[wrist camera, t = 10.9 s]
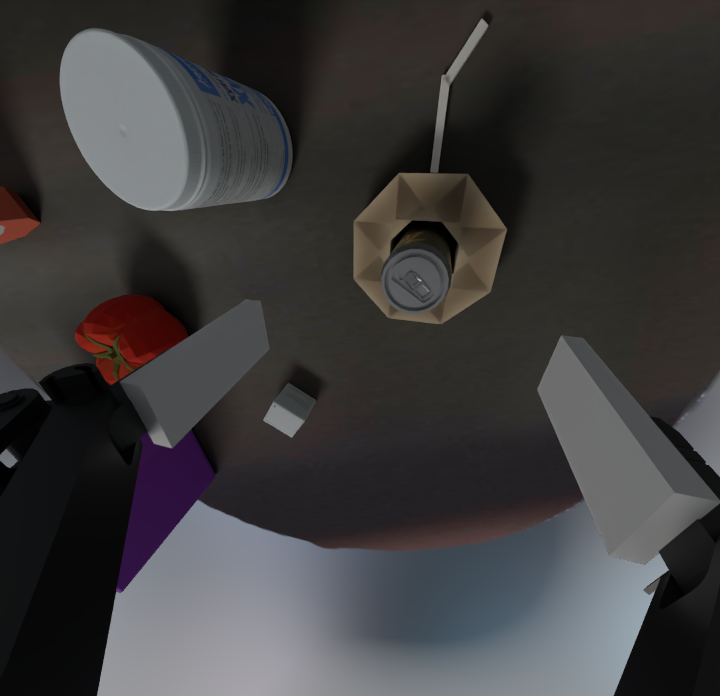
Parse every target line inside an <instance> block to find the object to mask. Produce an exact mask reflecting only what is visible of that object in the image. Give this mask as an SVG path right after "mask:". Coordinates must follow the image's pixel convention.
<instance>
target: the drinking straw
mask: <svg viewBox="0 0 720 696" xmlns="http://www.w3.org/2000/svg"><path fill="white" fill-rule="evenodd" d="M488 26H489V25H488V24H487V23H486V22H485V21H484V20H483V19H481V20H480V22H479V23H478V25H477V27H476V28H475V30H474V31H473V33H472V34H471V36H470V38H469V39H468V41H467V42H466V44H465V45H464V47H463V48H462V50H461V52H460V53H459V55H458V56H457V58H456V59H455V61H454V63H453V64H452V66H451V67H450V69H449V70H448V72H447V73H446V75H442V79H441V88H440V96H439V104H438V112H437V121H436V129H435V137H434V146H433V154H432V162H431V170H430V173H438V168H439V161H440V153H441V146H442V138H443V131H444V123H445V116H446V108H447V101H448V93H449V86H450V85H451V83H452V82H453V80H454V79H455V77H456V76H457V74H458V73H459V71H460V70H461V68H462V67H463V65H464V64H465V62H466V60H467V59H468V57H469V56H470V54H471V53H472V51H473V50H474V48H475V47H476V45H477V44H478V42H479V41H480V39H481V38H482V36H483V35H484V33H485V32H486V30H487V29H488Z"/></svg>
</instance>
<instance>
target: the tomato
mask: <svg viewBox="0 0 720 696" xmlns="http://www.w3.org/2000/svg"><path fill="white" fill-rule="evenodd" d="M188 337H189V336H188V334H187V331H186V329H185V327H184V326H183V325H182V324H181V322H180V321H179V320H178V319H177V318H175V317H174V316H173V315H171V314H170V313H169V312H167V311H166V310H165V308H164V307H163V306H162V305H161V304H160V303H159V302H158V301H156V300H155V299H153V298H151V297H148V296H145V295H123V296H120V297H116V298H113V299H111V300H108V301H106V302H104V303H102V304H100V305H99V306H97V307H96V308H95V309H93V310H92V311H91V312H90V313H89V314H88V316H87V317H86V319H85V320H84V321H83V322H82V323H80V324H79V326H78V328H77V329H76V331H75V340H76V342H77V343H78V344H79V346H81V347H82V348H84V349H85V350H87V351H88V352H92V353H95V354H97V355H91V356H95V357H97V360H96V366H97V367H98V369H99V370H100V372H101V374H102V376H103V377H104V379H105V380H106V381H107V382H108V383H110V384H111V385H112V384H114V383H115V382H117V381H118V380H120V379H121V378H123V377H124V376H126V375H128V374H129V373H131V372H132V371H134V370H135V369H137V368H138V367H140V366H142V365H143V364H144V365H145V364H146V362H148V361H149V360H151V359H152V358H154V359H155V357H156V356H157V355H159V354H160V353H162V352H163V351H165V350H167V349H169V348H171V347H174V346H175V345H177V344H179V343H180V342H182V341H183V340H185V339H186V338H188Z"/></svg>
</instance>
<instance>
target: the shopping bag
mask: <svg viewBox="0 0 720 696" xmlns="http://www.w3.org/2000/svg"><path fill="white" fill-rule="evenodd" d="M140 440H141V442H142V446H143V448H142V453H141V459H140V464H139V470H138V475H137V481H136V486H135V491H134V497H133V502H132V508H131V513H130V519H129V524H128V529H127V535H126V540H125V546H124V551H123V557H122V562H121V567H120V573H119V578H118V584H117V589H116V592H119V593H121V592H123V591H124V589H125V588H126V587H127V586H128V584H129V583H130V582H131V581H132V579H133V578H134V577H135V576H136V574H137V573H138V572H139V571H140V570H141V569H142V567H143V566H144V565H145V564H146V562H147V561H148V560H149V559H150V557H151V556H152V555H153V554H154V553H155V551H156V550H157V549H158V548H159V546H160V545H161V544H162V543H163V541H164V540H165V539H166V538H167V537H168V535H169V534H170V533H171V532H172V530H173V529H174V528H175V527H176V525H177V524H178V523H179V522H180V520H181V519H182V518H183V517H184V515H185V514H186V513H187V512H188V511H189V509H190V508H191V507H192V506H193V505H194V503H195V502H196V501H197V500H198V498H199V497H200V496H201V495H202V494H203V492H204V491H205V490H206V489H207V487H208V486H209V485H210V484H211V482H212V481H213V480H214V478H215V473H214V471H213V468H212V467H211V465H210V463H209V461H208V459H207V457H206V455H205V453H204V452H203V450H202V448H201V446H200V444H199V442H198V440H197V439H196V437H195V435H194V433H193V431H192V429H191V430H190V431H189V432H188V433H187V434H186V435H185V436H184V437H183V438H182V439H181V440H180V441H179V442H178V443H177V444H176V445H175V446H174V447H173V448H169V447H165V446H161V445H157V444H154V443H153V441H152V439H151V438H150V436H149V434H148V432H147V433H145V434H144V435H143V436H142V437H141V438H140Z"/></svg>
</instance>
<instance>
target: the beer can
mask: <svg viewBox="0 0 720 696" xmlns="http://www.w3.org/2000/svg"><path fill="white" fill-rule="evenodd" d="M451 279H452V268H451V253H450V244H449V240H448V237H447V236H446V234H445V232H444V231H443V230H442V229H440V228H439V227H438V226H435V225H432V224H419V225H416V226H413V227H412V228H411V229H409V230H408V231H407V232H406V233H405V234H404V236H403V237H402V239H401V240H400V241H399V243H398V244H397V246H396V247H395V248H394V250H393V251H392V253H391V254H390V255H389V257H388V258H387V260H386V261H385V262H384V265H383V268H382V272H381V285H382V290H383V293H384V296H385V298H386V299H387V300H388V302H389V303H390V305H392V306H393V307H395V308H396V309H397V310H399V311H402V312H404V313H407V314H420V313H424V312H428V311H430V310H431V309H433V308H435V307H436V306H437V305H438V304H439V303H440V302H441V301H442V300H443V299H444V297H445V296H446V295H447V293H448V291H449V288H450V286H451Z"/></svg>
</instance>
